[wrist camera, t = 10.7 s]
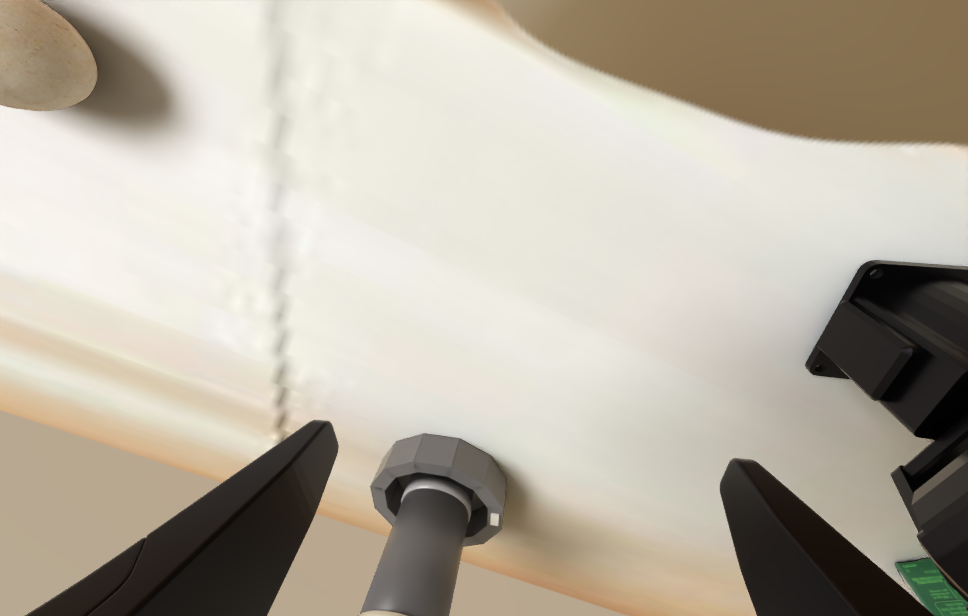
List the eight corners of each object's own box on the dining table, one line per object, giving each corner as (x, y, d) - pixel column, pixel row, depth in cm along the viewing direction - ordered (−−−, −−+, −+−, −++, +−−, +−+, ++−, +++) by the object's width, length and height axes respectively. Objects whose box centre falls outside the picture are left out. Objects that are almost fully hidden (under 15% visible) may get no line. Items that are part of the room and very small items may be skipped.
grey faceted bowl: (509, 445, 28) (504, 478, 25) (503, 525, 33) (499, 558, 30) (377, 426, 29) (361, 455, 27) (391, 506, 34) (379, 536, 32)
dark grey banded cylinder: (454, 453, 29) (390, 683, 17) (487, 497, 31) (449, 728, 19) (398, 467, 31) (309, 681, 19) (433, 507, 33) (370, 723, 21)
